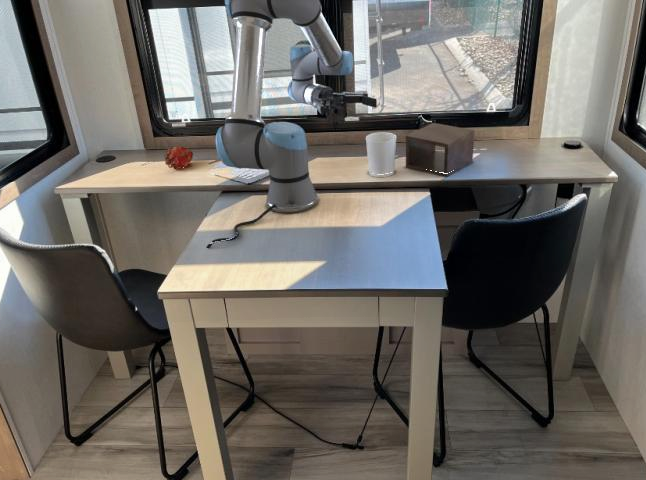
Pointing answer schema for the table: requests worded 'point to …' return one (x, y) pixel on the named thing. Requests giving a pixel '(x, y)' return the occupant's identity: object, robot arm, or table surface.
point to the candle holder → (381, 153)
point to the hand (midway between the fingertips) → (360, 107)
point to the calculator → (244, 171)
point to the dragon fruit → (178, 157)
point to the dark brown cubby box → (426, 157)
